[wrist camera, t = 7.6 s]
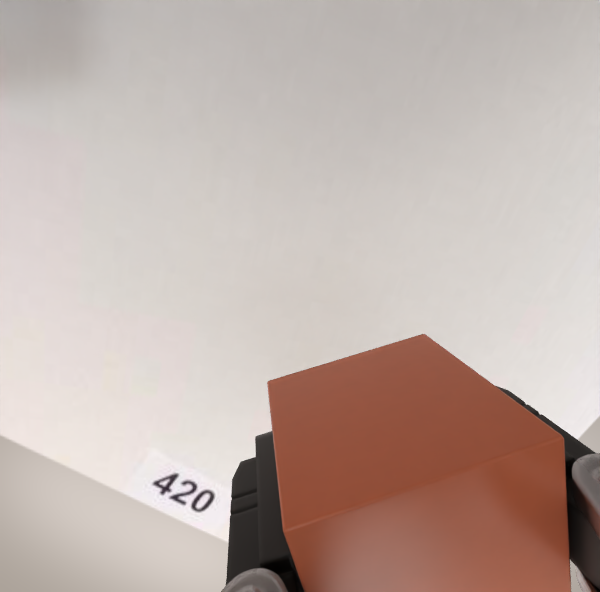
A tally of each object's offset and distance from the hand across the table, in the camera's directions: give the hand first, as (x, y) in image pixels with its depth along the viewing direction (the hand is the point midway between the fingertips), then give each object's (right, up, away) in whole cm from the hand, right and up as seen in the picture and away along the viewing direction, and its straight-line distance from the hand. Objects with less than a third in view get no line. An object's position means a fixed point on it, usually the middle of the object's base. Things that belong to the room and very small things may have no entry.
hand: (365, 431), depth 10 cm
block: (0, 0, 0) cm, 0 cm away
